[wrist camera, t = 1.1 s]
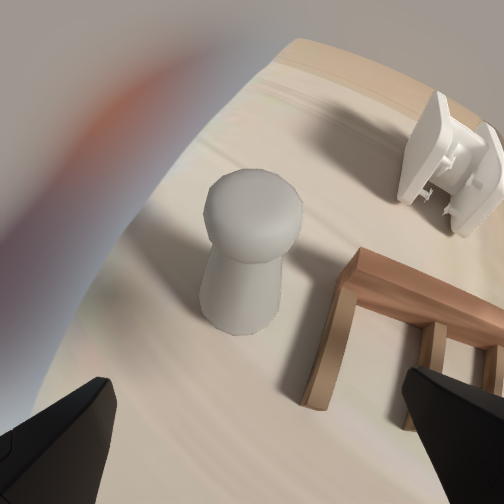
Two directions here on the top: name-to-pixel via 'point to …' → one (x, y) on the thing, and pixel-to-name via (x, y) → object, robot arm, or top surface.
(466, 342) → the wooden letter e
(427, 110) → the cable organizer
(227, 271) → the salt shaker
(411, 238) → the top surface
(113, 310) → the top surface
